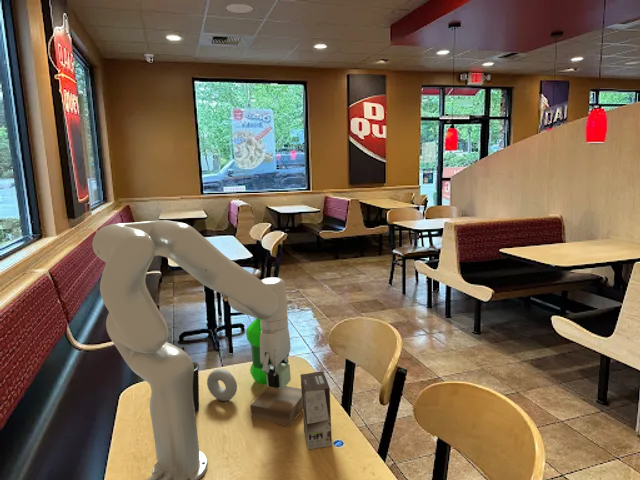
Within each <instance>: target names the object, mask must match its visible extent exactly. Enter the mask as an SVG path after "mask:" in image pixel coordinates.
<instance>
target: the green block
mask: <svg viewBox="0 0 640 480" xmlns="http://www.w3.org/2000/svg"><path fill="white" fill-rule="evenodd" d="M270 369H272V370H274V367H273V366H270ZM277 374H279V388H278V389H283V388H284V387H285V386H287V385H288V384H289V383H290V382H291V379H292V378H291V367H290V364H289V363H288V364H284V363H279V364H278V367H277ZM266 380H267V385H266V387H269V385H268V375H267V374H266ZM273 388H274V387H273Z"/></svg>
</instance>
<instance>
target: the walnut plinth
mask: <svg viewBox="0 0 640 480" xmlns="http://www.w3.org/2000/svg"><path fill="white" fill-rule="evenodd" d="M302 411H303V408H302V393H301V388H297V387H294V386H293V387H292V386H287V385H286V386H285V387H284V388H283V389H278V388H273V387H268V386H266V388H265V389H264V390H263V391H262V392H261V393H260V394H259V396H257V398H256V399H254V400H253V401H252V402H251V404H250V414H251V418H252V419H257V420H261V421H266V422H270V423H274V424H278V425H281V426H287V427H290V426H291V425H292V423H293V422H294V421H295V420H296V418H297V417H298V415H299V414H301V412H302Z"/></svg>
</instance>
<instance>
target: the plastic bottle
mask: <svg viewBox="0 0 640 480" xmlns="http://www.w3.org/2000/svg"><path fill="white" fill-rule="evenodd" d="M261 331H262V330H261V321H260V319H257V318H255V319H254V320H253V322H252V323H250V325H249V326H247V328H246V331H245V336H246V340H247V341H248V343H249V344H250V347H251V349H250V350H251V358H252V359H251V360H252V364H251V366H250V369H249V372H250V375H251V377H252V378H253V380H254V381H255V382H257V383H258V384H260V385H265V386H267V380H266V373H265V372H263V371H262V368H263V365H262V364H261V362H260V334H261ZM270 363H272V362H271V361H270Z"/></svg>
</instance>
